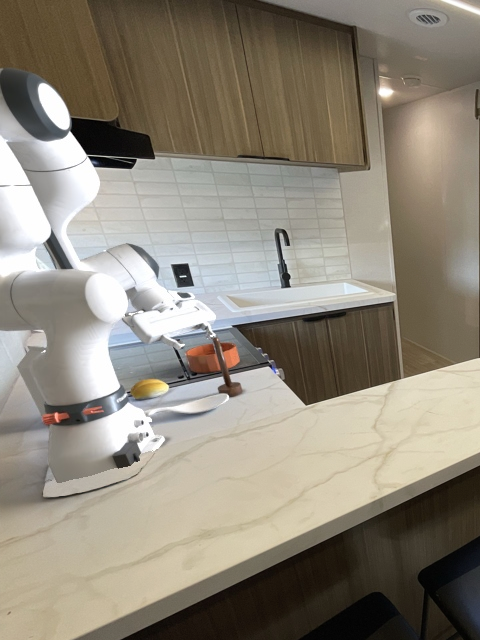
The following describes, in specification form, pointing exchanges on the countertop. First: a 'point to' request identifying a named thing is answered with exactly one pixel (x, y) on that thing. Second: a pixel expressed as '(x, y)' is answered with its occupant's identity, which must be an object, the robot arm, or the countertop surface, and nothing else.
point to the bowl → (211, 357)
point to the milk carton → (28, 378)
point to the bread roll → (149, 389)
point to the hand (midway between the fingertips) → (197, 342)
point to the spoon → (193, 405)
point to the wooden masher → (225, 373)
